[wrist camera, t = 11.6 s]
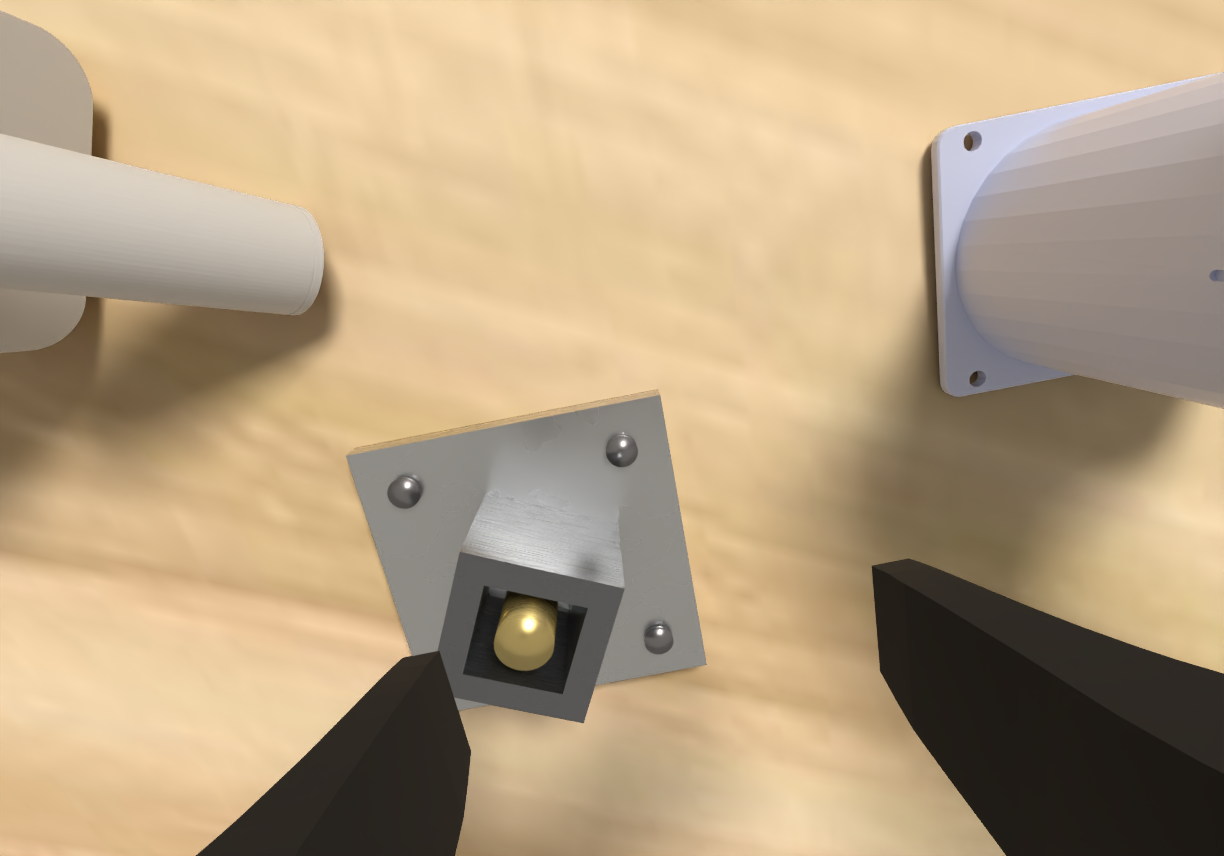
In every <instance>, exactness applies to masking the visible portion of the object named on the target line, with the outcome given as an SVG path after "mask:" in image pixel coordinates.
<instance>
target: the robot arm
mask: <svg viewBox="0 0 1224 856" xmlns="http://www.w3.org/2000/svg"><path fill="white" fill-rule="evenodd" d="M967 134H969V135H970V136H971V137H972V139H973V146H972V148H971V150H970V151H968V150H967V149H965V147H964V144H963V142H964V138H965V136H966V135H967ZM931 160H932V186H933V212H934V238H935V264H936V290H937V316H938V342H939V368H940V384H941V388H942V389H943V391H944V392H945V393H947V394H950V395H952V396H955V397H962V396H968V395H973V394H978V393H983V392H988V391H994V390H999V389H1004V388H1009V387H1015V386H1020V385H1025V384H1030V383H1035V382H1041V381H1046V380H1051V379H1056V378H1061V377H1067V376H1072V375H1079V376H1084V377H1088V378H1092V379H1097V380H1101V381H1105V382H1110V383H1114V384H1118V385H1123V386H1127V387H1131V388H1136V389H1140V390H1144V391H1149V392H1153V393H1157V394H1162V395H1166V396H1170V397H1175V398H1179V399H1183V400H1188V401H1192V402H1196V403H1201V404H1205V405H1209V406H1213V407H1218V408H1222V409H1224V72H1221V73H1216V74H1211V75H1206V76H1201V77H1196V78H1191V79H1186V80H1181V81H1176V82H1171V83H1166V84H1161V85H1156V86H1151V87H1147V88H1142V89H1137V90H1132V91H1127V92H1122V93H1117V94H1112V95H1107V96H1102V97H1097V98H1092V99H1087V100H1082V101H1077V102H1072V103H1067V104H1062V105H1057V106H1052V107H1047V108H1042V109H1037V110H1032V111H1027V112H1022V113H1017V114H1012V115H1007V116H1002V117H997V118H992V119H987V120H982V121H977V122H972V123H967V124H962V125H957V126H953V127H950V128H947V129H945V130H943V131H941V132H940V133H939V134H938V135H937V136H936V137H935V139H934V140H933V142H932V148H931ZM976 371H977V373H978V378H977V380H976V381H975V382H974V383H972V384H970V381H969V379H970V376H971V375H972V373H973V372H976ZM872 574H873V587H874V599H875V612H876V624H877V637H878V649H879V662H880V672H881V674H882V675H883V677H884V679H885V681H886V683H887V684H888V686H889V688H890V690H891V692H892V693H893V695H894V697H895V699H896V701H897V702H898V704H899V706H900V708H901V709H902V711H903V713H904V714H905V716H906V718H907V719H908V721H909V723H910V725H911V726H912V728H913V730H914V731H915V732H916V734H917V735H918V737H919V738H920V739H921V741H922V742H923V744H924V745H925V746H926V748H927V749H928V750H929V752H930V753H931V755H932V756H933V757H934V759H935V760H936V761H937V763H938V764H939V765H940V767H941V768H942V770H943V771H944V772H945V774H946V775H947V776H948V778H949V779H950V780H951V782H952V783H953V784H954V786H955V787H956V788H957V790H958V791H959V793H960V794H961V795H962V797H963V798H964V799H965V801H966V802H967V803H968V805H969V806H970V807H971V809H972V810H973V811H974V813H975V814H976V815H977V817H978V818H979V819H980V821H981V822H982V823H983V825H984V826H985V827H986V829H987V830H988V832H989V833H990V834H991V836H992V837H993V838H994V840H995V841H996V842H997V844H998V845H999V846H1000V848H1001V849H1002V850H1003V852H1004V853H1005V854H1006V856H1224V674H1223V673H1219V672H1216V671H1213V670H1209V669H1206V668H1203V667H1199V666H1196V665H1193V664H1189V663H1186V662H1182V661H1179V660H1176V659H1173V658H1170V657H1167V656H1164V655H1160V654H1157V653H1154V652H1151V651H1148V650H1145V649H1142V648H1139V647H1136V646H1134V645H1131V644H1128V643H1125V642H1122V641H1120V640H1117V639H1114V638H1111V637H1108V636H1106V635H1103V634H1100V633H1097V632H1094V631H1092V630H1089V629H1086V628H1083V627H1080V626H1078V625H1075V624H1073V623H1070V622H1067V621H1065V620H1062V619H1059V618H1057V617H1054V616H1052V615H1049V614H1047V613H1044V612H1042V611H1039V610H1036V609H1034V608H1031V607H1029V606H1026V605H1024V604H1022V603H1019V602H1017V601H1014V600H1012V599H1009V598H1007V597H1004V596H1002V595H1000V594H997V593H995V592H992V591H990V590H987V589H985V588H983V587H980V586H978V585H975V584H973V583H971V582H968V581H966V580H963V579H961V578H959V577H956V576H954V575H951V574H949V573H946V572H944V571H941V570H939V569H936V568H934V567H931V566H929V565H926V564H923V563H920V562H917V561H914V560H911V559H904V560H899V561H894V562H889V563H884V564H879V565H874V566H872ZM470 756H471V750H470V747H469V743H468V740H467V737H466V734H465V731H464V727H463V724H462V721H461V718H460V715H459V711H458V708H457V705H456V702H455V699H454V696H453V692H452V689H451V686H450V683H449V680H448V676H447V673H446V670H445V667H444V664H443V660H442V657H441V654H440V651H435V652H430V653H425V654H420V655H415V656H410V657H404V658H402V659H401V660H400V661H399V662H398V663H397V664H396V665H394V666H393V667H392V668H391V669H390V670H389V671H388V672H387V673H386V674H385V675H384V676H383V677H382V678H381V679H380V680H379V681H378V682H377V683H376V684H375V685H374V686H373V687H372V688H371V689H370V690H369V691H368V692H367V693H366V694H365V695H364V696H363V697H362V698H361V699H360V700H359V701H358V702H357V703H356V704H355V706H354V707H353V708H352V709H351V710H350V711H349V712H348V713H347V714H346V715H345V716H344V717H343V718H342V719H341V720H340V721H339V722H338V723H337V724H336V725H335V726H334V727H333V728H332V729H331V730H330V731H329V732H328V733H327V734H326V735H325V736H324V737H323V738H322V739H321V740H320V741H319V742H318V743H317V744H316V745H315V746H314V747H313V748H312V749H311V750H310V751H309V752H308V753H307V754H306V755H305V756H304V757H303V758H302V759H301V760H300V761H299V762H298V763H297V764H296V765H295V766H294V767H293V768H292V769H290V770H289V771H288V772H287V773H286V774H285V775H284V776H283V777H282V778H281V779H280V780H279V781H278V782H277V783H276V784H275V785H274V786H273V787H271V788H270V789H269V790H268V791H267V792H266V793H265V794H264V795H263V796H262V797H261V798H260V799H259V800H258V801H257V802H256V803H255V804H254V805H252V806H251V807H250V808H249V809H248V810H247V811H246V812H245V813H244V814H243V815H242V816H241V817H240V818H239V819H237V820H236V821H235V822H234V823H233V824H232V825H231V826H230V827H228V828H227V829H226V830H225V831H224V832H223V833H222V834H221V835H219V836H218V837H217V838H216V839H215V840H214V841H212V842H211V843H210V844H209V845H208V846H207V847H206V848H204V849H203V850H202V851H201V852H200V853H198V854H197V855H196V856H455V853H456V848H457V844H458V840H459V835H460V831H461V826H462V822H463V817H464V809H465V802H466V794H467V786H468V776H469V766H470Z"/></svg>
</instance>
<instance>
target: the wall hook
mask: <svg viewBox="0 0 1224 856" xmlns="http://www.w3.org/2000/svg"><path fill="white" fill-rule="evenodd" d="M92 125H93V97H92V92H91V88H90V85H89V82H88V79H87V77H86V75H85V72H84V71H83V69H82V67H81V65H80V63H79V62H78V60H77V59H76V58H75V56H74V55H73V54H72V53H71V52H70V50H69V49H68V48H67V47H66V46H65V45H64V44H63V43H62V42H61V41H59V40H58V39H57V38H56V37H55V36H53V35H52V34H51V33H49V32H47V31H46V30H44V29H43V28H41V27H39V26H36V25H34V24H32V23H29V22H27V21H25V20H22V19H20V18H17V17H15V16H12V15H10V14H8V13H5V12H3V11H0V353H10V352H22V351H33V350H39V349H43V348H46V347H49V346H51V345H53V344H55V343H57V342H59V341H60V340H62V339H63V338H65V337H66V336H67V335H68V334H69V333H70V332H71V331H72V330H73V329H74V328H75V327H76V325H77V324H78V323H79V321H80V319H81V317H82V315H83V312H84V309H85V304H86V296H88V297H99V298H110V299H121V300H132V301H142V302H153V303H164V304H175V305H186V306H197V307H207V308H218V309H229V310H240V311H251V312H262V313H272V314H283V315H294V316H295V315H300V314H302V313H304V312H305V311H307V310H308V309H309V308H310V306H311V305H312V304H313V302H314V300H315V298H316V297H317V294H318V292H319V289H320V285H321V281H322V277H323V269H324V250H323V242H322V237H321V233H320V230H319V227H318V225H317V222H316V221H315V219H314V217H313V216H312V215H311V213H310V212H309V211H308V210H306V209H305V208H303V207H299V206H295V205H291V204H287V203H283V202H279V201H275V200H271V199H267V198H263V197H258V196H254V195H250V194H246V193H242V192H238V191H234V190H230V189H226V188H222V187H218V186H213V185H209V184H205V183H201V182H197V181H193V180H189V179H185V178H181V177H177V176H172V175H168V174H164V173H160V172H156V171H152V170H148V169H144V168H140V167H136V166H132V165H127V164H123V163H119V162H115V161H111V160H107V159H103V158H99V157H95V156H91V155H92Z"/></svg>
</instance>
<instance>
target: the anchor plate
mask: <svg viewBox="0 0 1224 856" xmlns="http://www.w3.org/2000/svg"><path fill="white" fill-rule="evenodd" d="M346 457H347V460H348V463H349V466H350V469H351V472H352V475H353V478H354V481H355V484H356V488H357V491H358V494H359V497H360V500H361V503H362V506H363V509H364V512H365V515H366V518H367V521H368V524H369V527H370V530H371V533H372V536H373V539H374V542H375V545H376V548H377V551H378V554H379V557H380V560H381V563H382V566H383V569H384V572H385V575H386V578H387V581H388V584H389V587H390V590H391V593H392V596H393V599H394V602H395V605H396V608H397V611H398V614H399V617H400V620H401V623H402V626H403V629H404V632H405V635H406V638H407V641H408V644H409V647H410V650H411V653H412V656H415V655H420V654H425V653H430V652H435V651H438V646H439V642H440V637H441V633H442V628H443V624H444V619H445V615H446V610H447V606H448V601H449V597H450V592H451V588H452V583H453V579H454V574H455V570H456V565H457V561H458V556H459V552H460V550H461V547H462V545H463V543H464V541H465V539H466V536H467V534H468V532H469V530H470V528H471V525H472V523H473V521H474V519H475V517H476V515H477V512H478V510H479V508H480V506H481V504H482V501H483V499H484V497H485V495H486V493H488V494H492V495H496V496H500V497H505V498H509V499H513V500H518V501H522V502H526V503H530V504H535V505H539V506H543V507H547V508H552V509H556V510H560V511H565V512H569V513H573V514H577V515H582V516H586V517H590V518H594V519H599V520H603V521H607V522H612V523H616V524H618V527H619V536H620V546H621V556H622V566H623V575H624V585H625V590H624V593H623V596H622V600H621V603H620V606H619V609H618V613H617V616H616V619H615V622H614V626H613V629H612V632H611V635H610V639H609V642H608V645H607V648H606V652H605V655H604V658H603V661H602V665H601V668H600V671H599V674H598V678H597V681H596V684H595V685H600V684H605V683H611V682H616V681H622V680H627V679H632V678H638V677H643V676H649V675H654V674H659V673H665V672H670V671H676V670H681V669H686V668H692V667H697V666H703V665H707V664H706V658H705V652H704V647H703V641H702V635H701V629H700V623H699V618H698V612H697V606H696V600H695V594H694V589H693V583H692V577H691V571H690V565H689V559H688V554H687V548H686V542H685V536H684V530H683V525H682V519H681V513H680V507H679V501H678V496H677V490H676V484H675V478H674V472H673V467H672V461H671V455H670V449H669V443H668V438H667V432H666V426H665V420H664V414H663V408H662V403H661V397H660V394H659V392H658V390H653V391H647V392H642V393H637V394H632V395H627V396H622V397H616V398H611V399H606V400H601V401H596V402H591V403H585V404H580V405H575V406H570V407H565V408H560V409H554V410H549V411H544V412H539V413H534V414H529V415H524V416H518V417H513V418H508V419H503V420H498V421H493V422H487V423H482V424H477V425H472V426H467V427H462V428H456V429H451V430H446V431H441V432H436V433H431V434H425V435H420V436H415V437H410V438H405V439H400V440H395V441H389V442H384V443H379V444H374V445H369V446H364V447H358V448H355V449H354V450H353V451H351V452H350V453H349V454H348V455H346ZM488 595H490V596H494V597H499V598H504V599H505V600H504V604H503V608H502V612H501V615H500V619H499V623H498V627H497V631H496V635H495V639H494V650H495V653H496V655H497V657H498V658H499V660H500V661H501V662H502V663H503V664H505V665H506V666H508V667H510V668H512V669H515V670H521V671H528V670H533V669H537V668H539V667H541V666H542V665H544V664H545V663H546V662H547V661H548V660H549V659H550V657H551V656H552V654H553V651H554V643H555V633H556V622H557V612H558V610H559V611H564V612H568V611H569V608H570V604H567V603H562V602H558V601H553V600H548V599H544V598H539V597H535V596H530V595H525V594H521V593H516V592H512V591H507V590H502V589H498V588H493V587H489V591H488ZM454 699H455V702H456V705H457V708H458V711H459V710H465V709H470V708H475V707H481V706H486V705H489V704H484V703H479V702H474V701H469V700H464V699H459V698H454Z"/></svg>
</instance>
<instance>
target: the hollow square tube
mask: <svg viewBox="0 0 1224 856" xmlns="http://www.w3.org/2000/svg"><path fill="white" fill-rule="evenodd" d="M489 587H493V588H498V589H502V590H507V591H512V592H516V593H521V594H525V595H530V596H535V597H539V598H544V599H548V600H553V601H558V602H562V603H567V604H570V608H569V611H568V612H564V611H559V610H558V612H557V622H556V633H555V643H554V651H553V654H552V656H551V657H550V659H549V660H548V661H547V662H546V663H545V664H544V665H542V666H541V667H539V668H537V669H533V670H528V671H521V670H515V669H512V668H510V667H508V666H506V665H505V664H503V663H502V662H501V661H500V660H499V658H498V657H497V655H496V653H495V650H494V639H495V635H496V631H497V627H498V623H499V619H500V615H501V612H502V608H503V604H504V600H505V599H504V598H499V597H494V596H490V595H488V591H489ZM624 590H625V585H624V575H623V566H622V556H621V546H620V536H619V527H618V524H616V523H612V522H607V521H603V520H599V519H594V518H590V517H586V516H582V515H577V514H573V513H569V512H565V511H560V510H556V509H552V508H547V507H543V506H539V505H535V504H530V503H526V502H522V501H518V500H513V499H509V498H505V497H500V496H496V495H492V494H488V493H486V495H485V497H484V499H483V501H482V504H481V506H480V508H479V510H478V512H477V515H476V517H475V519H474V521H473V523H472V525H471V528H470V530H469V532H468V534H467V536H466V539H465V541H464V543H463V545H462V547H461V550H460V552H459V556H458V561H457V565H456V570H455V574H454V579H453V583H452V588H451V592H450V597H449V601H448V606H447V610H446V615H445V619H444V624H443V628H442V633H441V637H440V642H439V646H438V651H440V654H441V657H442V660H443V664H444V667H445V670H446V673H447V676H448V680H449V683H450V686H451V689H452V692H453V696H454V698H459V699H464V700H469V701H474V702H479V703H484V704H489V705H494V706H499V707H504V708H509V709H514V710H519V711H524V712H529V713H535V714H540V715H545V716H550V717H555V718H560V719H565V720H570V721H575V722H580V723H584V720H585V717H586V713H587V710H588V707H589V704H590V700H591V697H592V694H593V691H594V687H595V684H596V681H597V678H598V674H599V671H600V668H601V665H602V661H603V658H604V655H605V652H606V648H607V645H608V642H609V639H610V635H611V632H612V629H613V626H614V622H615V619H616V616H617V613H618V609H619V606H620V603H621V600H622V596H623V593H624Z"/></svg>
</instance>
